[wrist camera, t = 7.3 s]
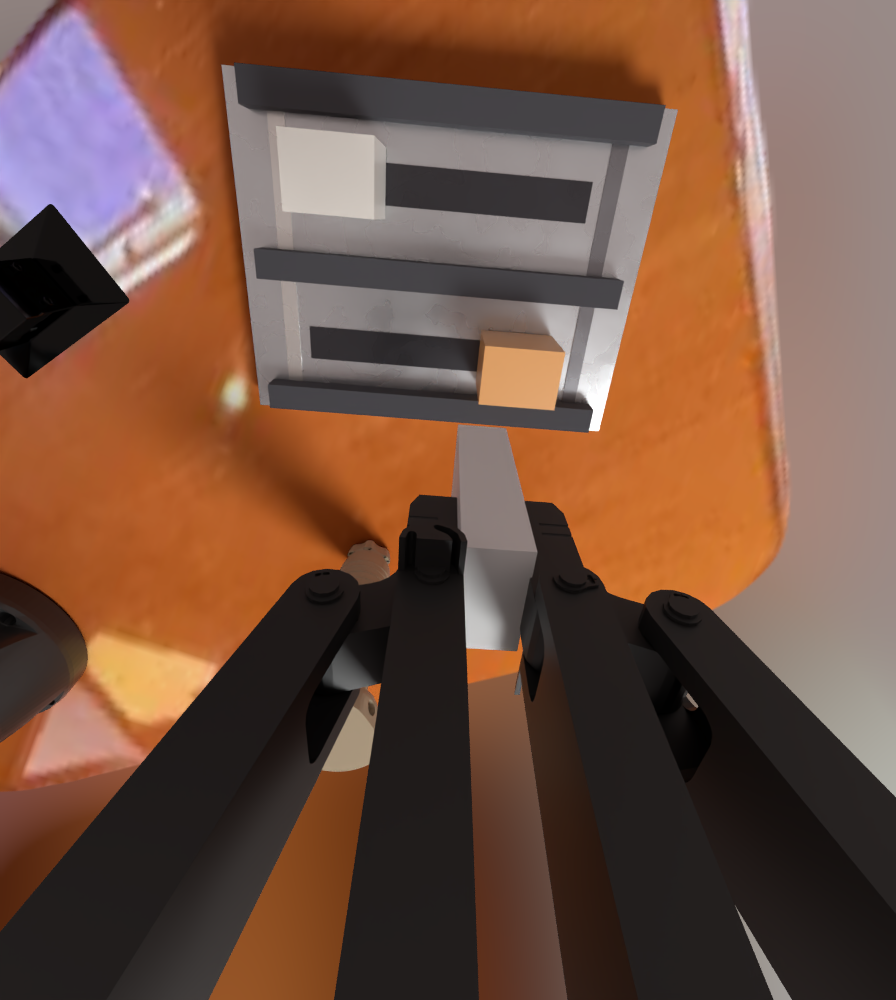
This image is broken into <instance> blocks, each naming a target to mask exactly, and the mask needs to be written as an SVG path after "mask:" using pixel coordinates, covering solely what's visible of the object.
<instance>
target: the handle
mask: <svg viewBox="0 0 896 1000" xmlns="http://www.w3.org/2000/svg"><path fill="white" fill-rule="evenodd" d="M347 556H348V558H347V559H346V561H345V562H344V564H343V565H342V567H341V569H340V570H341V571H343V572H346V573H348V574H351V575H352V576H353V577H354V578H355V579H356V580H357V581H358V584H359V585H362V584H368V583H373V582H377V581H381V580H383V579H386V578H388V577H390V571H389V566H388V564H389V563H390V554H389V551H388V550H387V549H386V548H383V547H380V546H378V545H377V544H375V543H374V541H372V540H367V541H366V542H365V543H363V544H355V545H353V546H352V548H351V549H350V550H349V552H348V554H347ZM367 689H368V686H367V687H362V688H361V689H360V693H359V695H358V697H357V699H356V701H355V704H354V706H353V708H352V710H351V712H350V714H349V716H348V718H347V720H346V722H345V724H344V726H343V728H342V730H341V732H340V734H339V736H338V738H337V740H336V742H335V744H334V746H333V748H332V750H331V752H330V754H329V756H328V758H327V760H326V762H325V764H324V766H323V768H322V770H326V771H337V772H339V771H349V770H354V769H358V768H361V767H364V766H366V765H369V762H370V756H371V749H372V742H373V736H374V729H375V722H376V716H377V709H378V707H377V703H376V701H375V699H374V697H373V695H372V694H371V693H370V692H369V691H368V690H367Z"/></svg>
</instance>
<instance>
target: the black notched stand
mask: <svg viewBox="0 0 896 1000" xmlns="http://www.w3.org/2000/svg"><path fill="white" fill-rule="evenodd" d="M128 303H129V298H128V297H127V296H126V295H125V293H124V292H123V291H122V290H121V288H120V287H119V286H118V285H117V283H116V282H115V281H114V280H113V278H112V277H111V276H110V275H109V273H108V272H107V271H106V270H105V269H104V267H103V266H102V265H101V264H100V262H99V261H98V260H97V259H96V257H95V256H94V255H93V254H92V252H91V251H90V250H89V249H88V247H87V246H86V245H85V244H84V242H83V241H82V240H81V239H80V238H79V236H78V235H77V234H76V233H75V231H74V230H73V229H72V228H71V226H70V225H69V224H68V223H67V221H66V220H65V219H64V218H63V216H62V215H61V214H60V213H59V212H58V210H57V209H56V208H55V207H54V206H53V205H52V204H49V205H48V206H47V207H45V208H44V209H43V210H42V211H41V212H40V213H39V214H38V215H37V216H35V217H34V218H33V219H32V220H31V221H30V222H29V223H28V224H26V225H25V226H24V227H23V228H22V229H21V230H20V231H19V232H18V233H16V234H15V235H14V236H13V237H12V238H11V239H10V240H9V241H8V242H6V243H5V244H4V245H3V246H2V247H1V248H0V355H1V356H2V357H3V358H4V359H5V360H6V361H7V362H8V363H9V364H10V365H11V366H12V367H14V368H15V369H16V370H17V371H18V372H19V373H20V374H21V375H22V376H23V377H24V378H28V377H30V376H31V375H32V374H34V373H35V372H36V371H38V370H39V369H40V368H42V367H43V366H44V365H46V364H47V363H48V362H50V361H51V360H53V359H54V358H55V357H57V356H58V355H59V354H61V353H62V352H63V351H65V350H66V349H67V348H69V347H70V346H71V345H73V344H74V343H75V342H77V341H78V340H79V339H81V338H82V337H83V336H85V335H86V334H87V333H89V332H90V331H91V330H93V329H94V328H95V327H97V326H98V325H99V324H101V323H102V322H103V321H105V320H106V319H107V318H109V317H110V316H111V315H113V314H114V313H116V312H117V311H118V310H120V309H121V308H122V307H124V306H125V305H126V304H128Z"/></svg>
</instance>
